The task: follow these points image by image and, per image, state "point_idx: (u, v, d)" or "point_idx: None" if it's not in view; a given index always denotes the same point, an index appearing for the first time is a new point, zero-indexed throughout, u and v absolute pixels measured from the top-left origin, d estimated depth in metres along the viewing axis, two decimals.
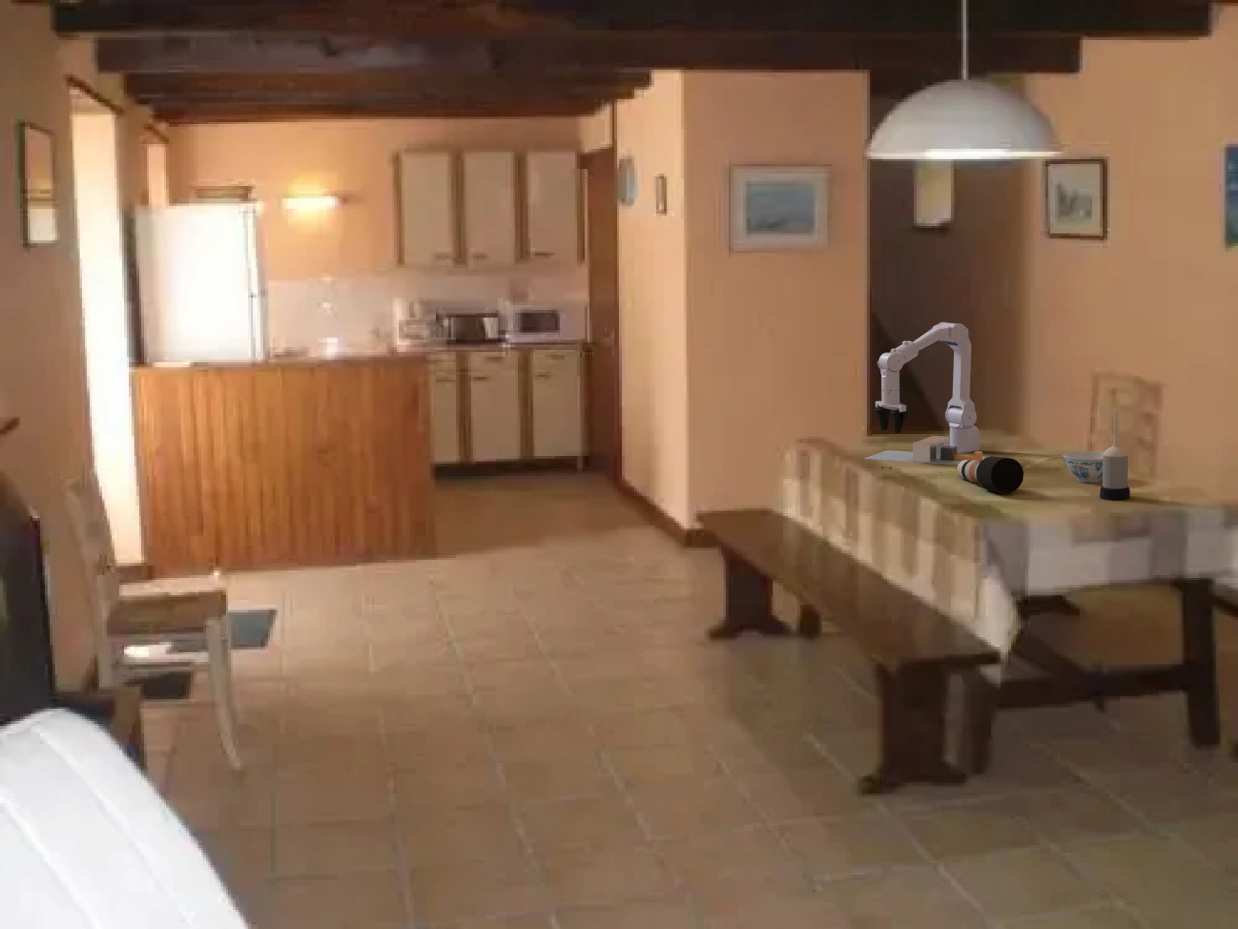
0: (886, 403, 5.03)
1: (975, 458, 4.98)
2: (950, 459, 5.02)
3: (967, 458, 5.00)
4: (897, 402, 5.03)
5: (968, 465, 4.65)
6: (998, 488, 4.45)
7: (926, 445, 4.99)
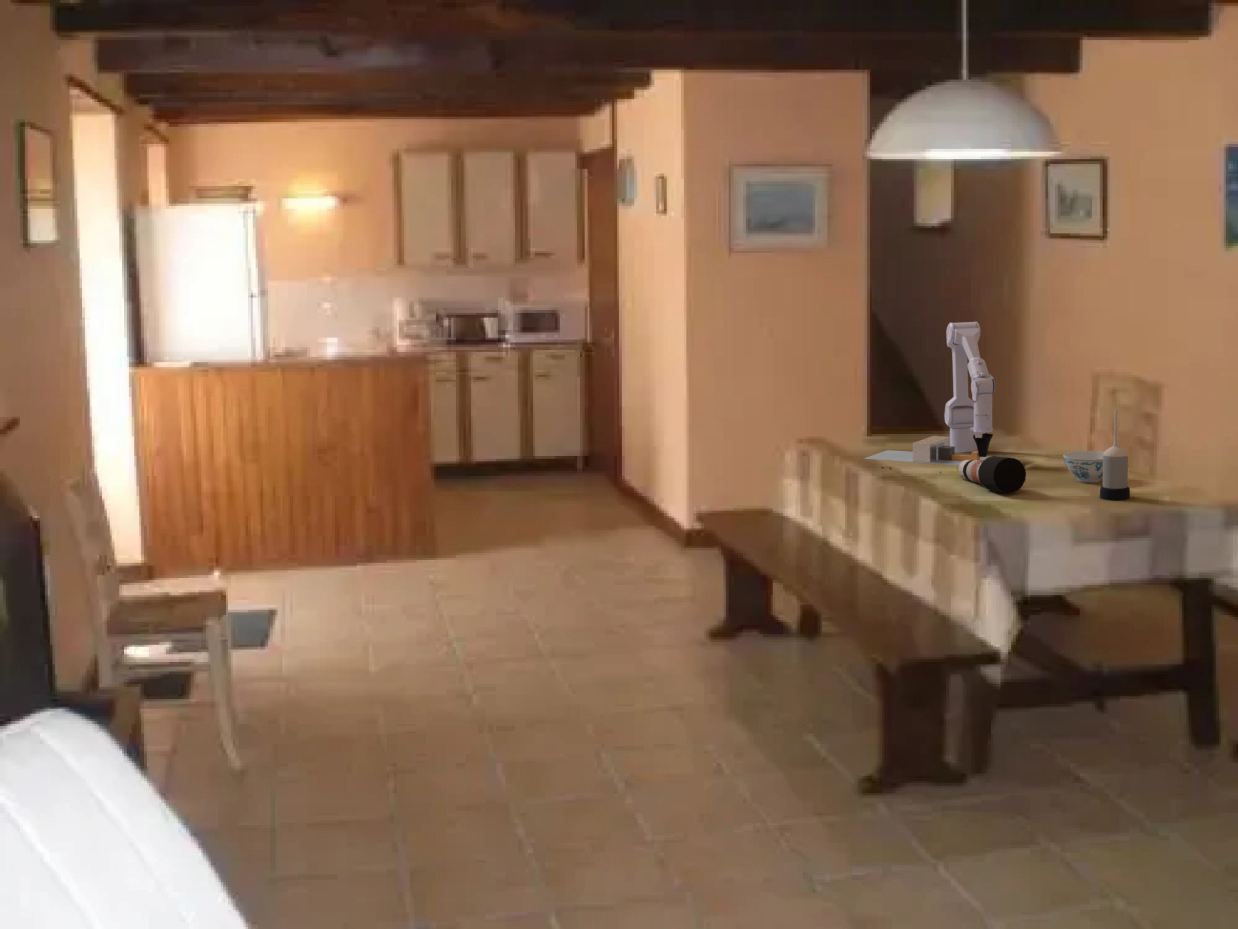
0: (974, 427, 4.96)
1: (972, 458, 4.98)
2: (948, 459, 5.02)
3: (965, 458, 5.00)
4: (983, 428, 4.93)
5: (970, 465, 4.65)
6: (1001, 488, 4.45)
7: (926, 445, 4.99)
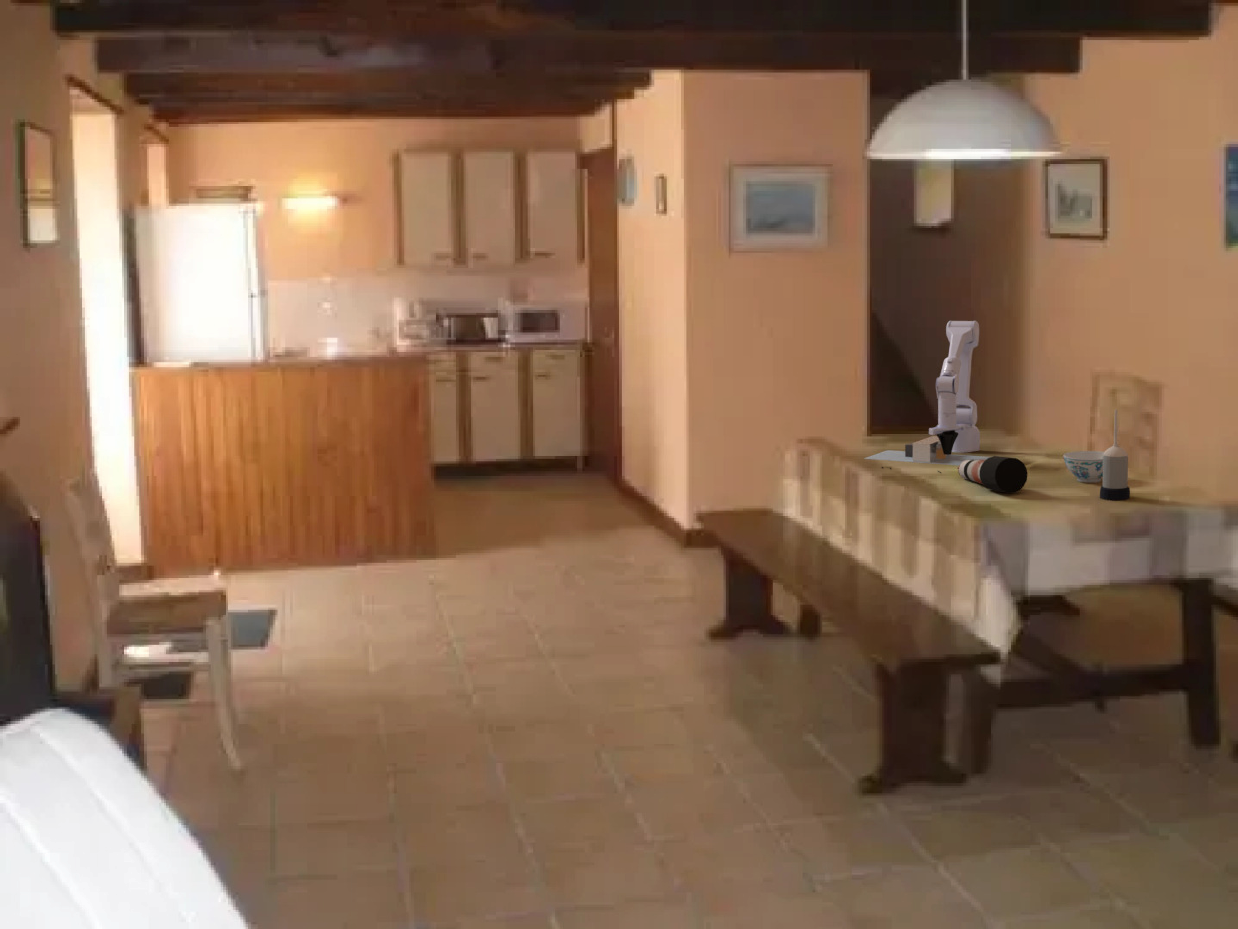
0: None
1: (938, 455, 5.06)
2: None
3: None
4: (943, 426, 5.01)
5: (971, 465, 4.65)
6: (1002, 488, 4.45)
7: (926, 445, 4.99)
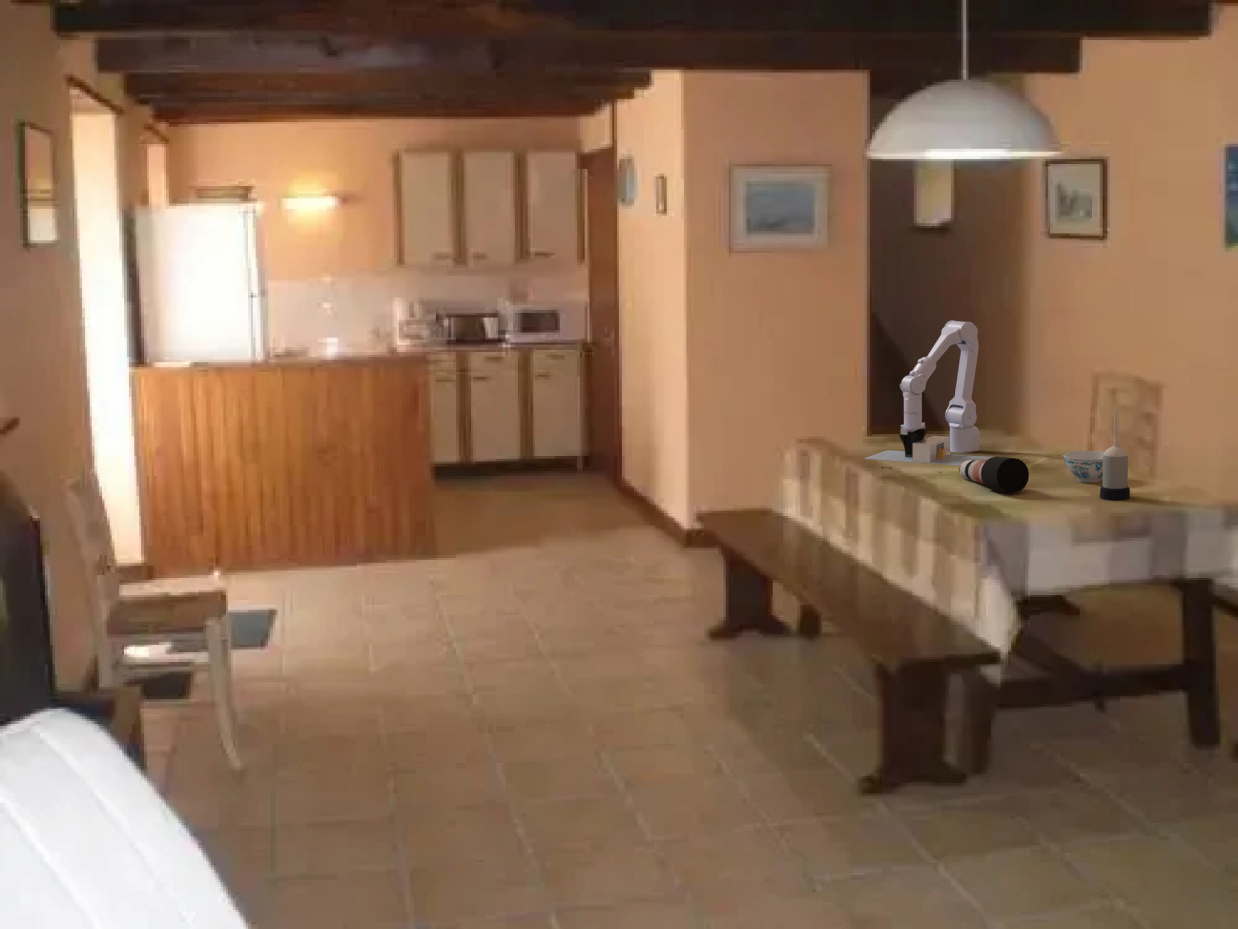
0: (904, 424, 5.10)
1: (938, 455, 5.06)
2: None
3: None
4: (911, 425, 5.07)
5: (972, 465, 4.65)
6: (1004, 488, 4.45)
7: (926, 445, 4.99)
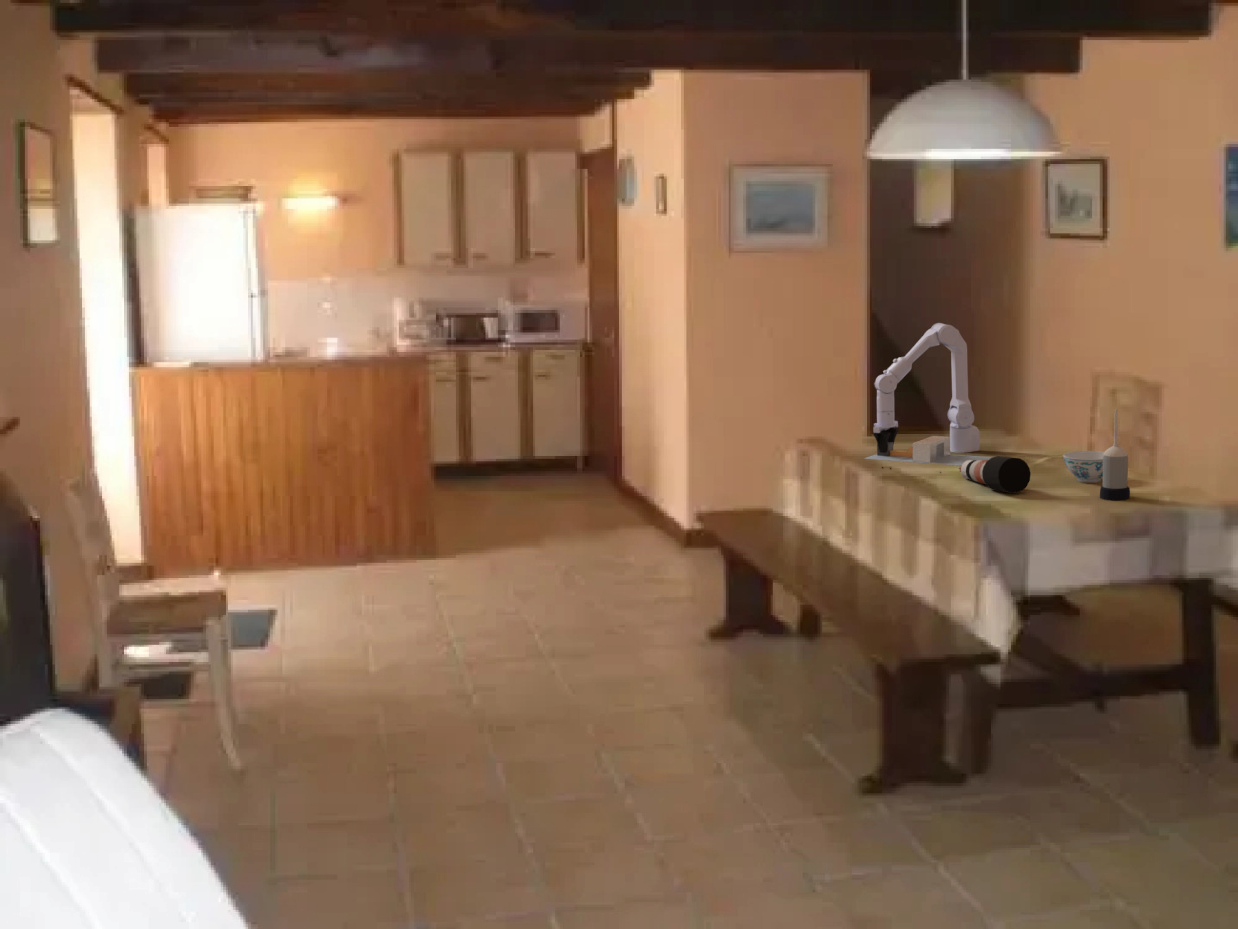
0: (877, 423, 5.16)
1: (910, 453, 5.11)
2: (886, 454, 5.15)
3: (903, 453, 5.13)
4: (884, 423, 5.13)
5: (973, 465, 4.65)
6: (1005, 488, 4.45)
7: (926, 445, 4.99)
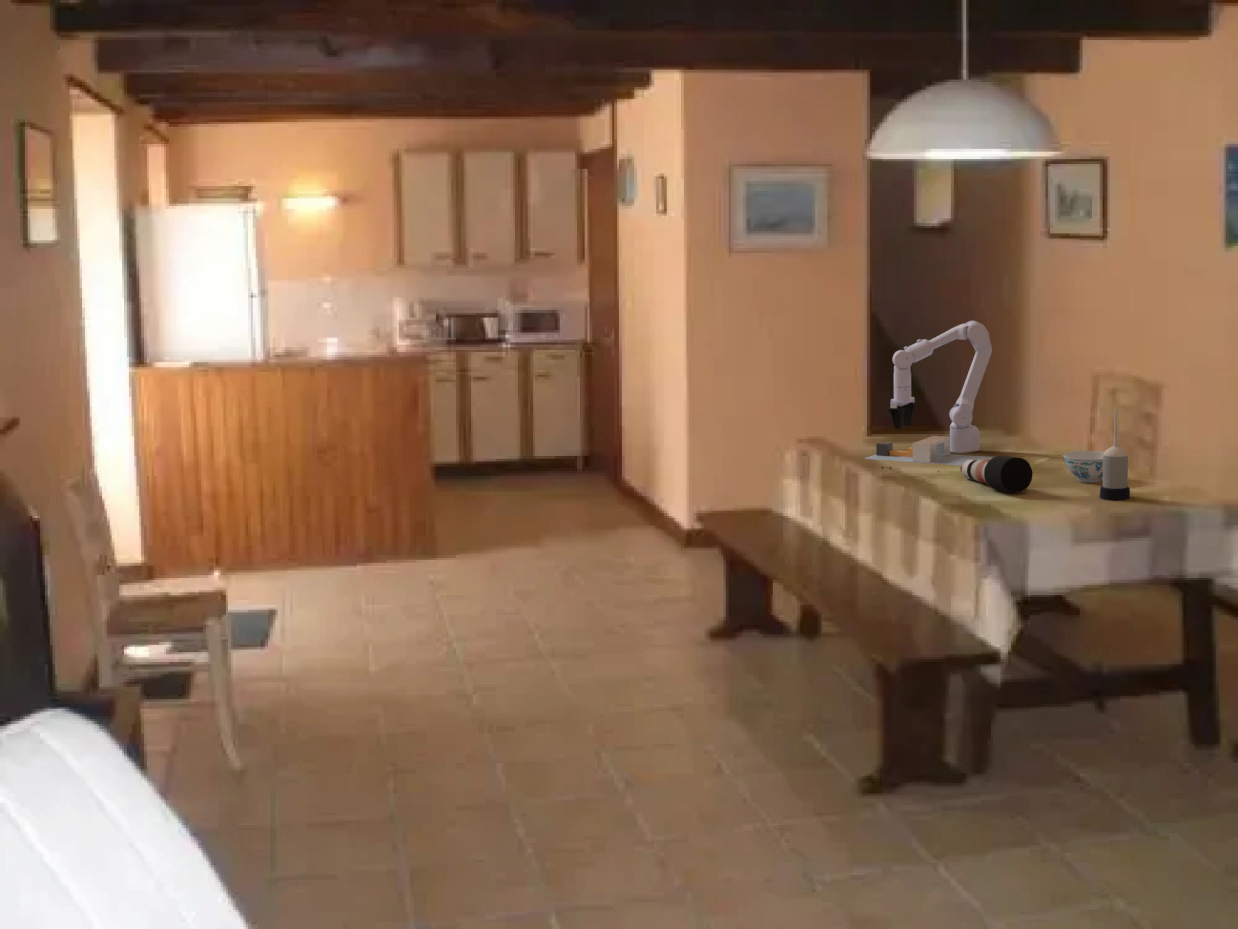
0: None
1: (909, 453, 5.11)
2: (885, 455, 5.15)
3: (902, 454, 5.13)
4: (901, 399, 5.15)
5: (974, 465, 4.65)
6: (1008, 488, 4.45)
7: (926, 445, 4.99)
